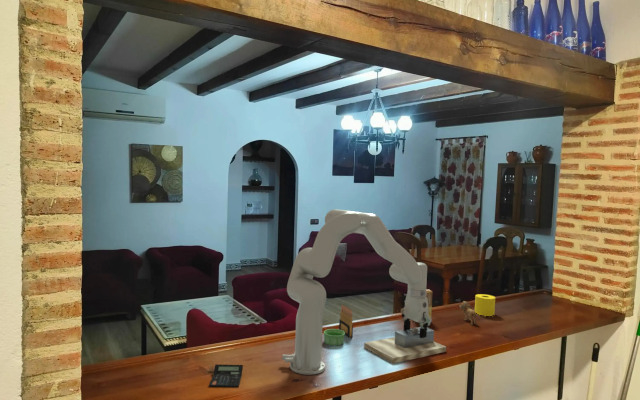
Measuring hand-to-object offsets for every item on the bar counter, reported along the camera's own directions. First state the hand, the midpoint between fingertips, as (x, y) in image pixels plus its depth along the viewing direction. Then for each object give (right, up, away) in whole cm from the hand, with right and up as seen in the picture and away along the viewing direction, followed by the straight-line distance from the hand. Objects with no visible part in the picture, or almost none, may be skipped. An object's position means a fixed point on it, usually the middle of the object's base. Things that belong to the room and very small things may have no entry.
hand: (414, 334), depth 186 cm
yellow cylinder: (+49, -6, +56) cm, 75 cm away
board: (-5, -6, -2) cm, 8 cm away
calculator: (-70, -5, -36) cm, 79 cm away
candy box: (+11, -5, +39) cm, 41 cm away
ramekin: (-33, -5, +3) cm, 34 cm away
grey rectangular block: (0, -4, 0) cm, 4 cm away
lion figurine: (+36, -6, +41) cm, 55 cm away
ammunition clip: (-28, -4, +15) cm, 32 cm away
